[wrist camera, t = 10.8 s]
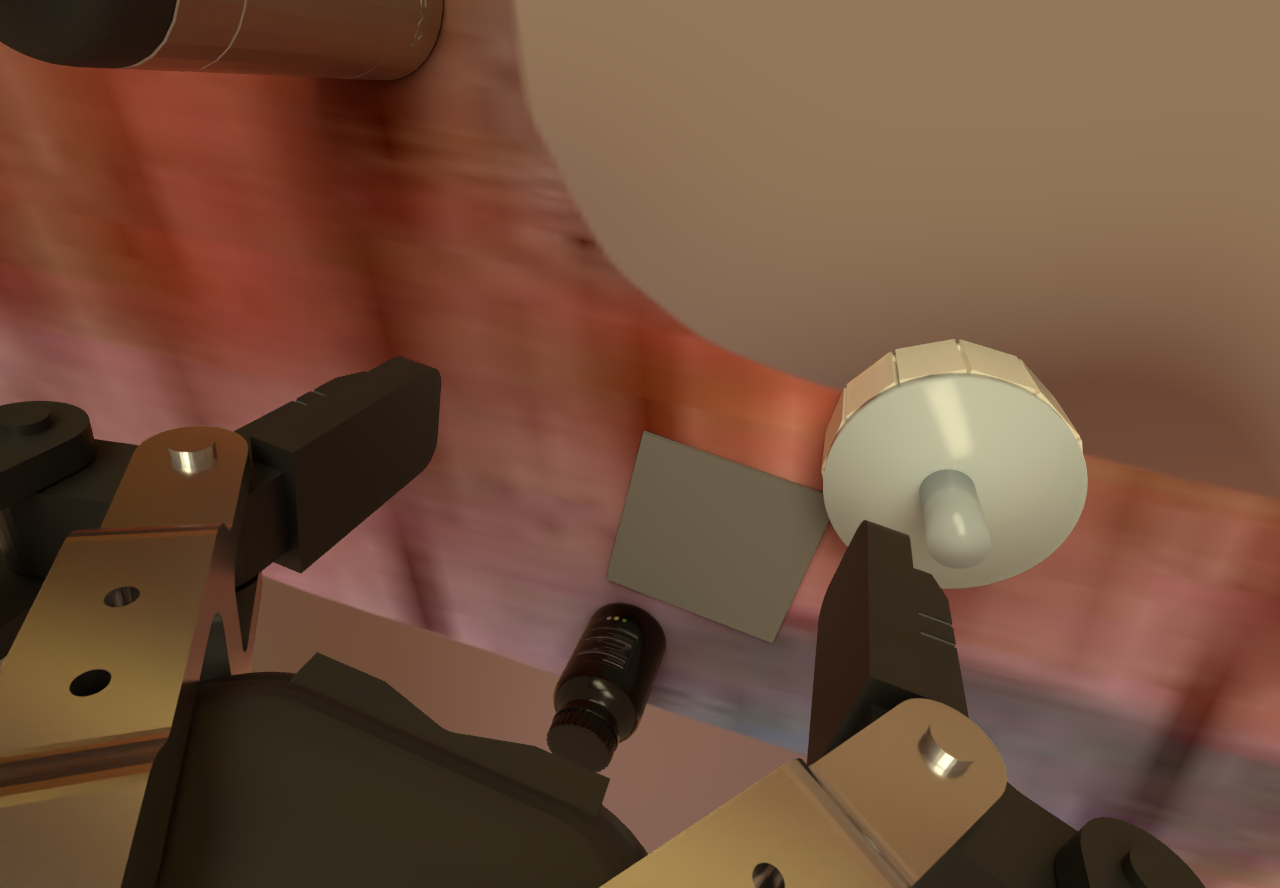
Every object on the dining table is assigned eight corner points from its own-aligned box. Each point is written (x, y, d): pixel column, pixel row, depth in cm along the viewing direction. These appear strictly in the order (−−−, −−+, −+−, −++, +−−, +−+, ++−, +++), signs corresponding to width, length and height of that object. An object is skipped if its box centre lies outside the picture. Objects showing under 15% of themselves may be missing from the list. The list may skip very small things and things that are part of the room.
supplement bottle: (671, 667, 56) (629, 793, 46) (596, 656, 58) (540, 775, 48) (664, 604, 53) (617, 723, 43) (586, 595, 55) (523, 707, 45)
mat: (607, 575, 53) (605, 579, 53) (644, 430, 46) (643, 433, 46) (772, 639, 51) (772, 643, 51) (838, 497, 44) (838, 500, 44)
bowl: (800, 491, 45) (793, 532, 41) (875, 313, 38) (877, 340, 34) (992, 558, 43) (1006, 608, 39) (1105, 383, 36) (1138, 420, 32)
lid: (793, 532, 41) (783, 594, 36) (875, 340, 34) (878, 382, 29) (1006, 608, 39) (1028, 684, 34) (1136, 420, 32) (1188, 480, 27)
